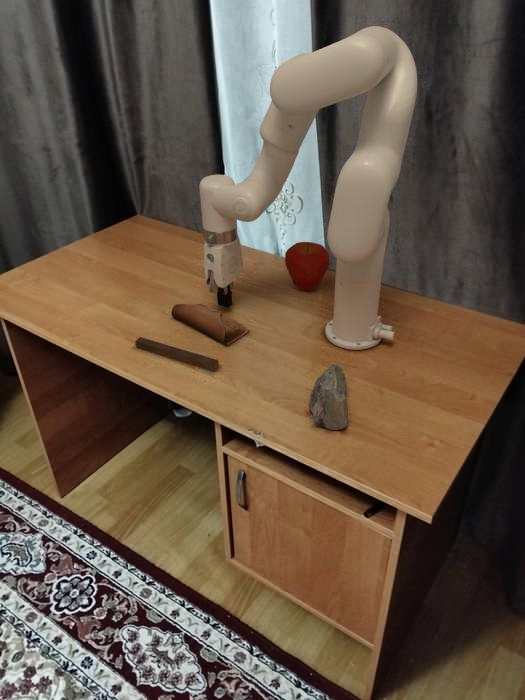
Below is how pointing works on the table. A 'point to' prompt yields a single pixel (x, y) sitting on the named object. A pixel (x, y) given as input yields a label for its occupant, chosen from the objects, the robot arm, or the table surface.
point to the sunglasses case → (210, 321)
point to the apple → (307, 264)
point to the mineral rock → (330, 399)
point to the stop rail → (177, 354)
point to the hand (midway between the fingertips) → (225, 305)
